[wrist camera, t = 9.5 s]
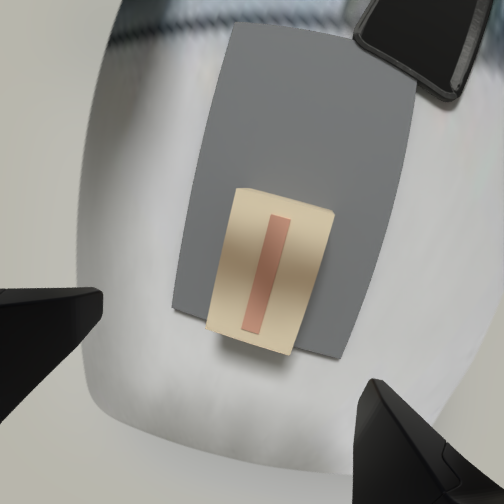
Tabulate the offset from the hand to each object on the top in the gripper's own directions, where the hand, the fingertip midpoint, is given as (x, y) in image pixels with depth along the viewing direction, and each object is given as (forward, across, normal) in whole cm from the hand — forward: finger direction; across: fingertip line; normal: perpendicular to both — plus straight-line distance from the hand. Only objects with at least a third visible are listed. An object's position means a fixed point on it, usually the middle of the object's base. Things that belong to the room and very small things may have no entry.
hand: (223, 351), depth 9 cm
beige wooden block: (+10, 0, 0) cm, 10 cm away
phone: (+11, -7, -21) cm, 25 cm away
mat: (+11, 0, -5) cm, 12 cm away
